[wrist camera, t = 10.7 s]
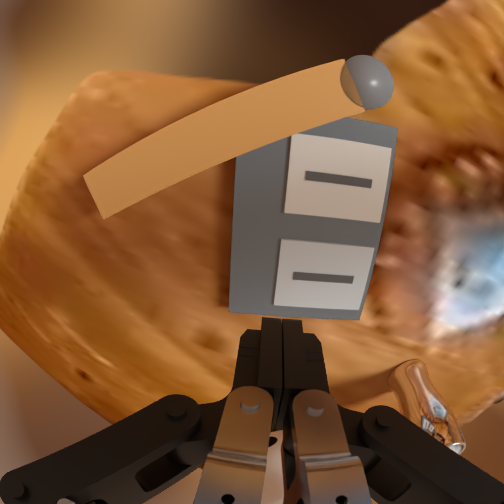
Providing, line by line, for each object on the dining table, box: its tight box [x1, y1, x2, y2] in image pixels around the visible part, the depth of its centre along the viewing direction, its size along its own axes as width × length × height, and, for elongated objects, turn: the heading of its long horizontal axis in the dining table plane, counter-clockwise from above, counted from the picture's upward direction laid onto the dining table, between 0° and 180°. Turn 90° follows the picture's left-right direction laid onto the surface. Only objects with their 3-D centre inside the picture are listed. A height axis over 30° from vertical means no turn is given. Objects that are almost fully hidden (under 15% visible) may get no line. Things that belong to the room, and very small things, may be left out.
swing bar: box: [83, 55, 394, 220], centre depth 20 cm, size 24×4×2 cm, turn 112°
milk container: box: [261, 430, 284, 504], centre depth 35 cm, size 17×17×18 cm
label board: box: [229, 117, 398, 320], centre depth 28 cm, size 14×20×2 cm
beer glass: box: [388, 360, 466, 455], centre depth 29 cm, size 7×7×15 cm
